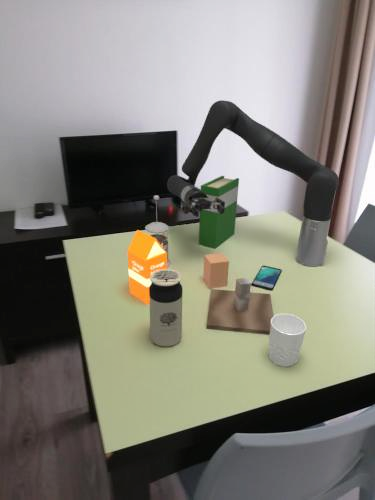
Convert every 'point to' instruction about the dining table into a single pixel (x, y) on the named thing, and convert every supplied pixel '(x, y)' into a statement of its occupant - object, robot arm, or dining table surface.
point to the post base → (240, 319)
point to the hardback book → (212, 222)
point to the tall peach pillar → (215, 270)
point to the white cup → (285, 339)
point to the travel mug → (165, 307)
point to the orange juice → (144, 263)
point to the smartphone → (266, 278)
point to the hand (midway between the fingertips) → (210, 212)
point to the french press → (159, 228)
